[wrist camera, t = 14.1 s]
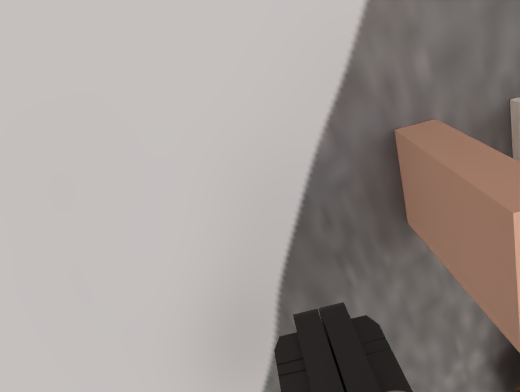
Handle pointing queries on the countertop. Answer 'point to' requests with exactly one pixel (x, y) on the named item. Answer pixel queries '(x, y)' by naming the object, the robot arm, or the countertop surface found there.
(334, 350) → the robot arm
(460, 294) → the countertop surface
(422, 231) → the terracotta domino
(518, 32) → the countertop surface
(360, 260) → the countertop surface
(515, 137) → the ivory domino
